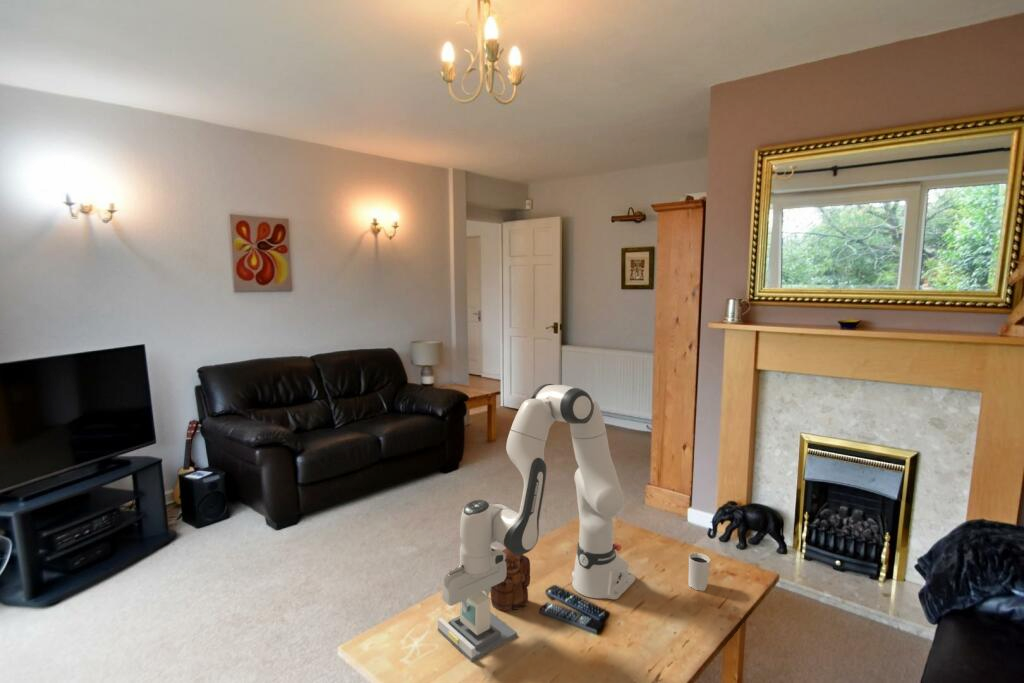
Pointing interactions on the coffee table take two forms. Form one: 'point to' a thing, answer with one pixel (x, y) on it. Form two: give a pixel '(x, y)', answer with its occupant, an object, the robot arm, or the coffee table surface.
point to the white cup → (698, 570)
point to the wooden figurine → (512, 584)
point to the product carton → (477, 613)
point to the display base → (475, 636)
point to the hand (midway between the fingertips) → (475, 606)
